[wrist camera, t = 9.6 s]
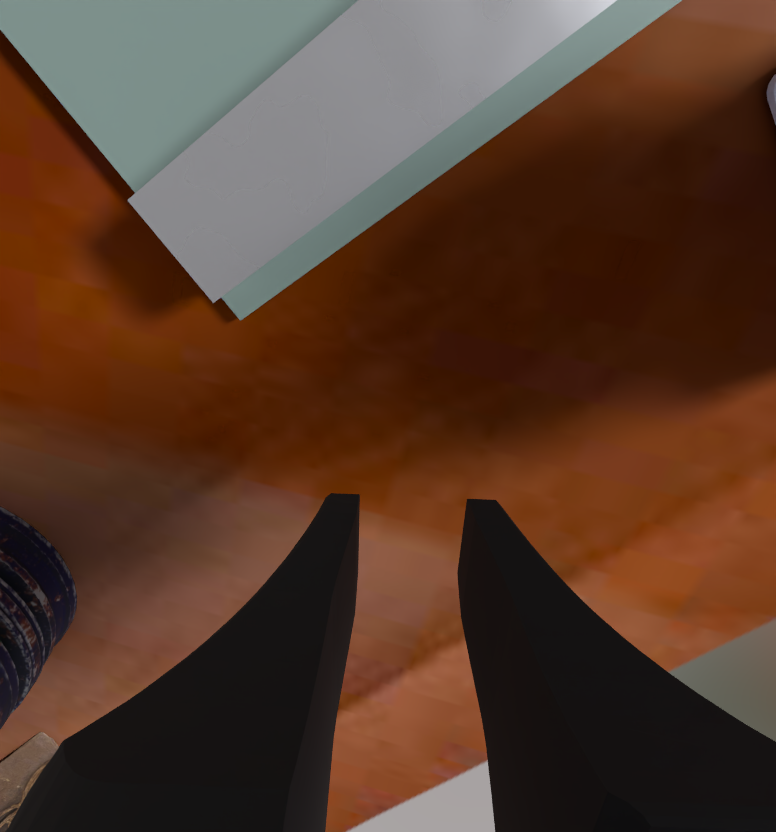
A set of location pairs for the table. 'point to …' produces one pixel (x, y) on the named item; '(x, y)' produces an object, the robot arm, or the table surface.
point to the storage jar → (29, 607)
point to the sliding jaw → (340, 123)
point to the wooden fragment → (22, 774)
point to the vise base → (238, 77)
